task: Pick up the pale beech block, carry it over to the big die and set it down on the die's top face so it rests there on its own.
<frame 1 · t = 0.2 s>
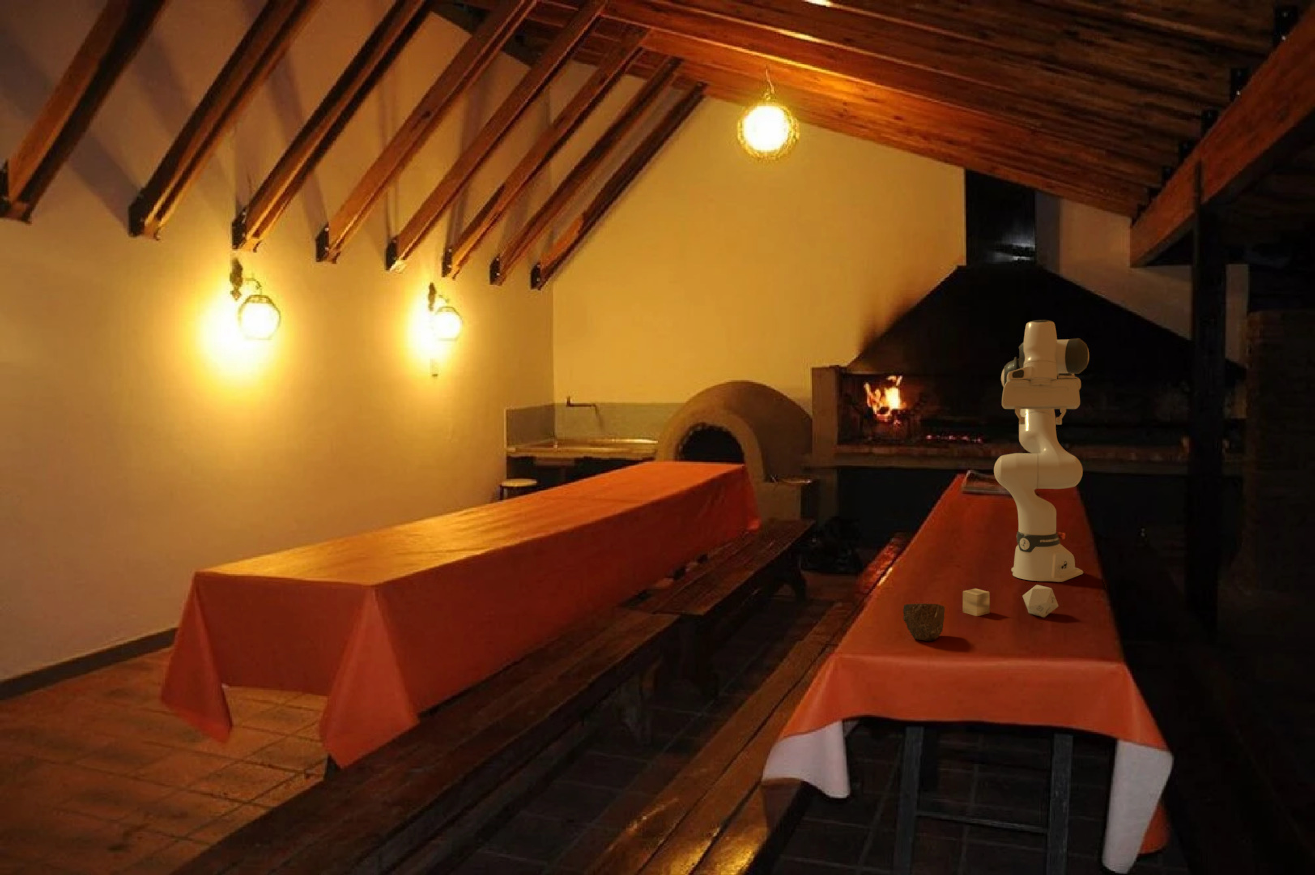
hand: (1040, 424, 275), 52 cm above the table, tool tilted 20°, fingers open, 8 cm apart
rock: (926, 639, 256), on the table
beech block: (976, 612, 278), on the table
die: (1040, 615, 274), on the table
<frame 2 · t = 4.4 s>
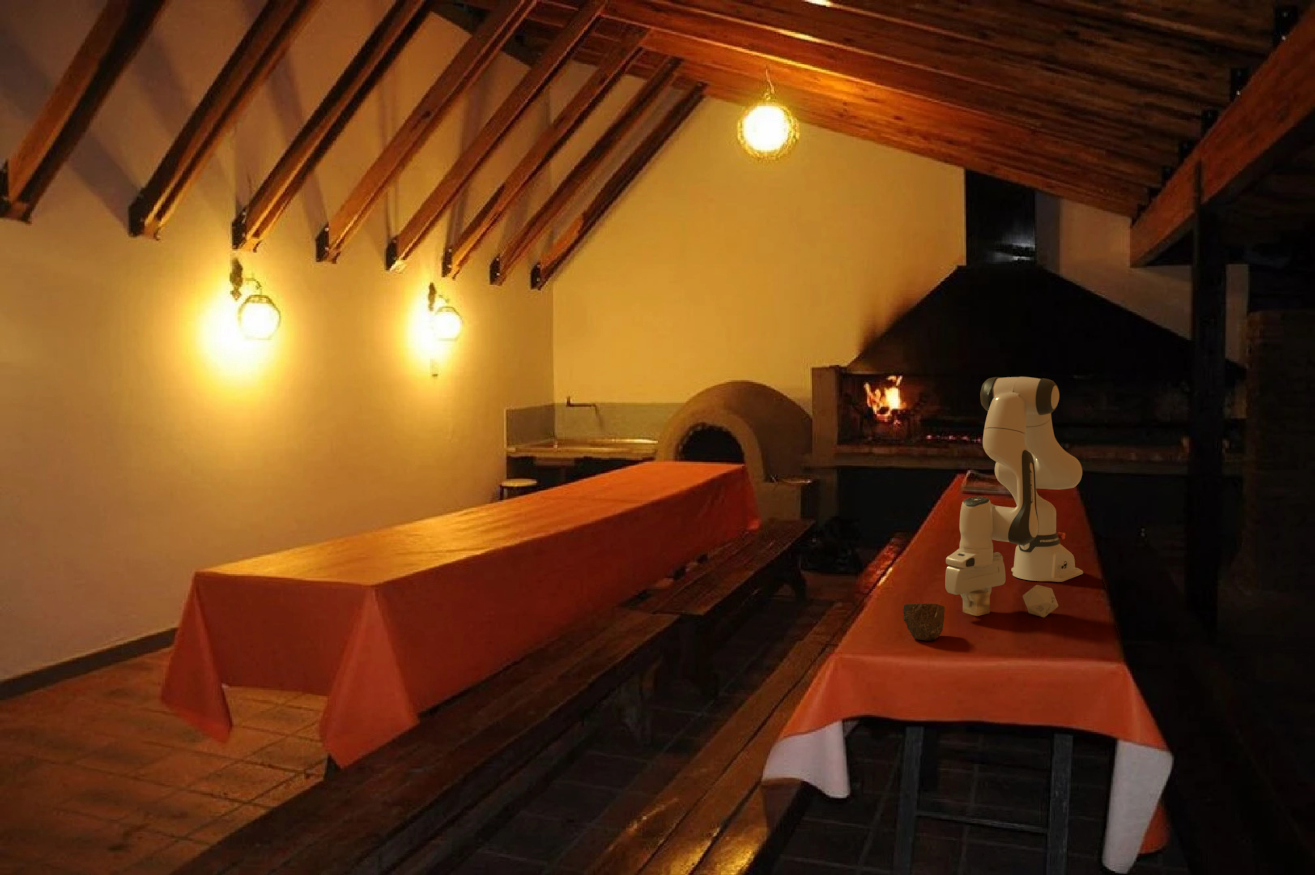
hand: (976, 605, 277), 2 cm above the table, tool pointing down, fingers closed on beech block, 5 cm apart
beech block: (976, 612, 278), on the table, touching gripper
everything else where it was.
when the fingers open (11 cm above the table, at t = 9.5 s): beech block drops 1 cm, resting on die.
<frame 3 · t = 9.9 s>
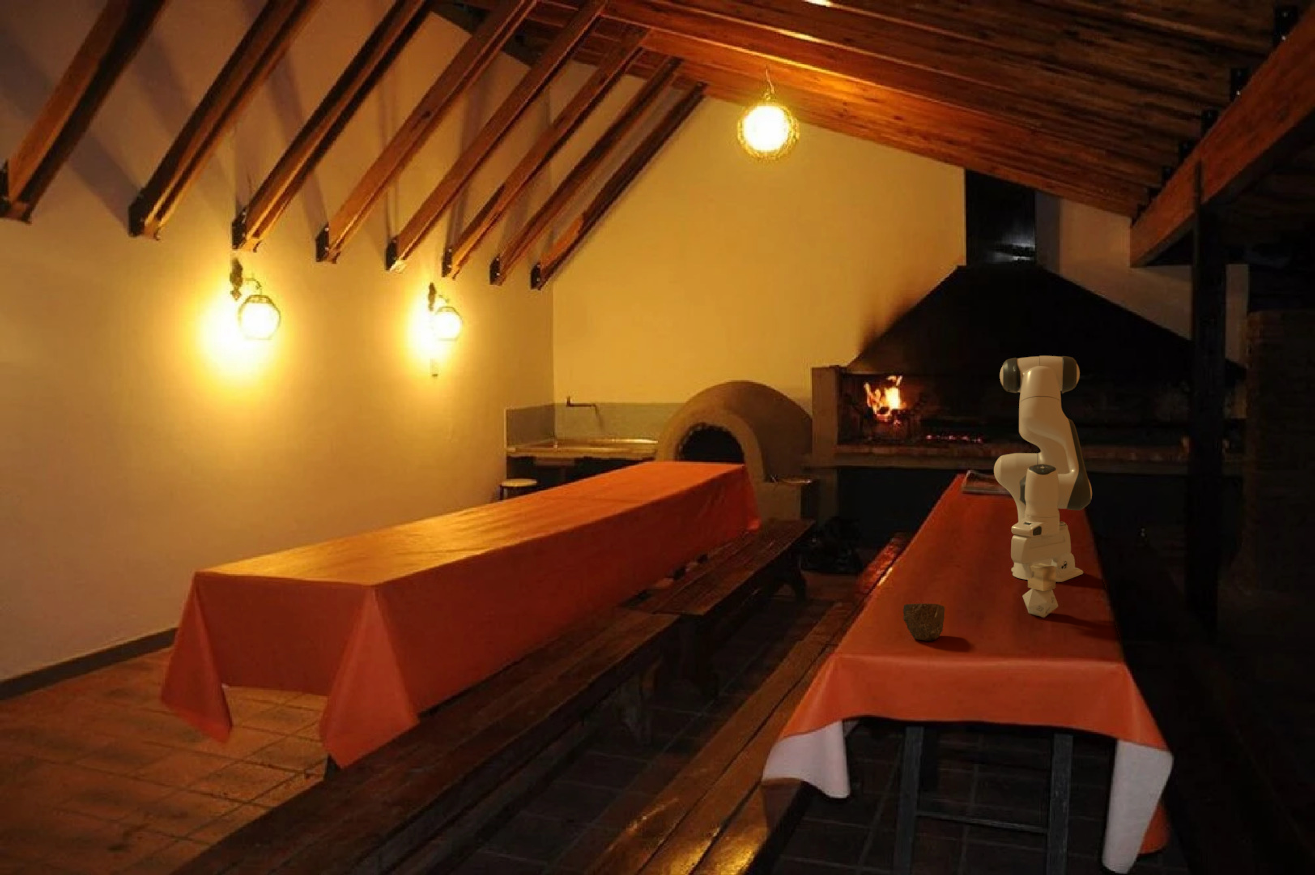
hand: (1041, 575, 272), 11 cm above the table, tool pointing down, fingers open, 8 cm apart
beech block: (1041, 587, 273), point 8 cm above the table, touching die
die: (1040, 615, 274), on the table, touching beech block
everything else where it was.
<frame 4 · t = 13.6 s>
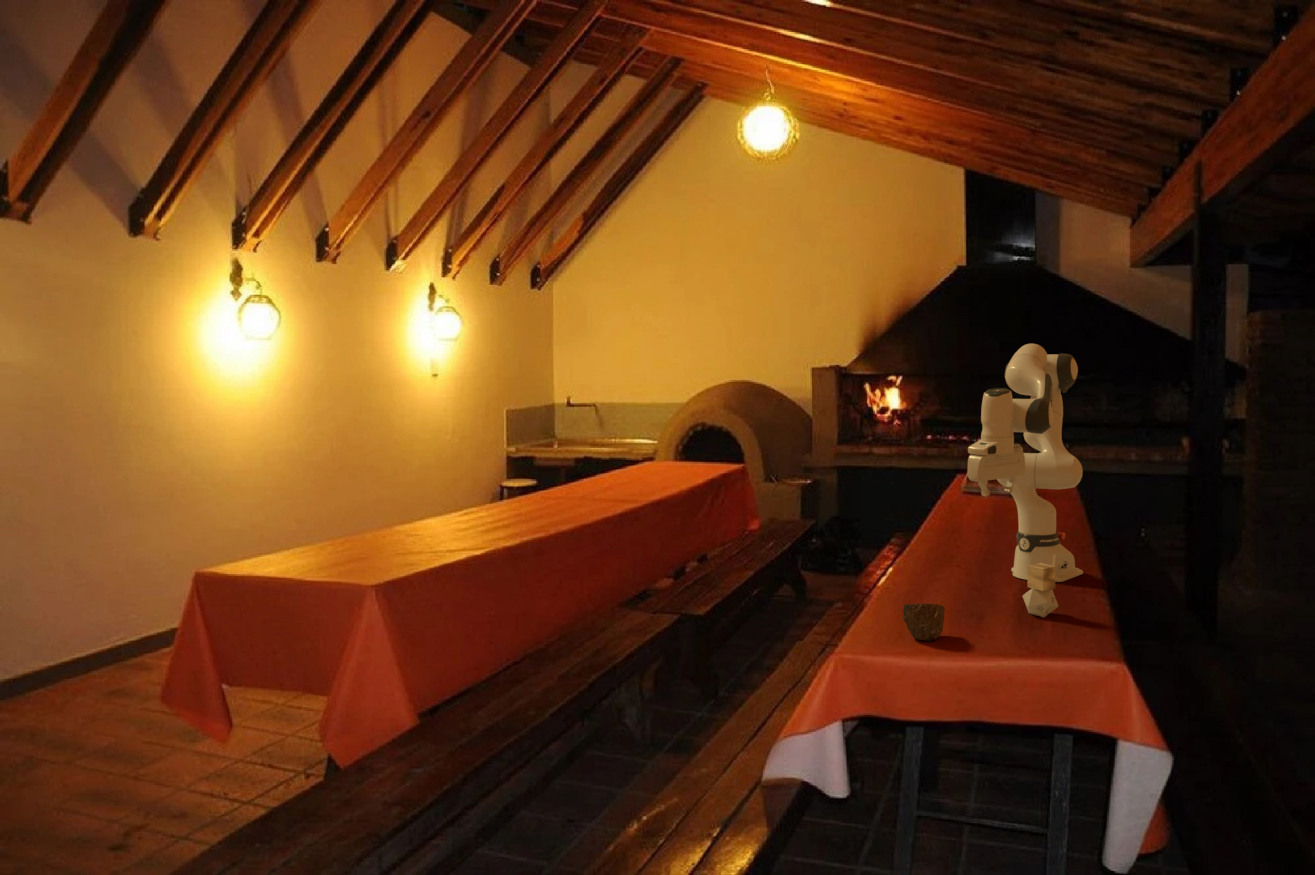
hand: (997, 494, 286), 31 cm above the table, tool pointing down, fingers open, 8 cm apart
nothing on the table moved.
at the end: beech block 0.4 cm from the die (horizontally); beech block point 7.6 cm above the table; beech block tilted 0° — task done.
